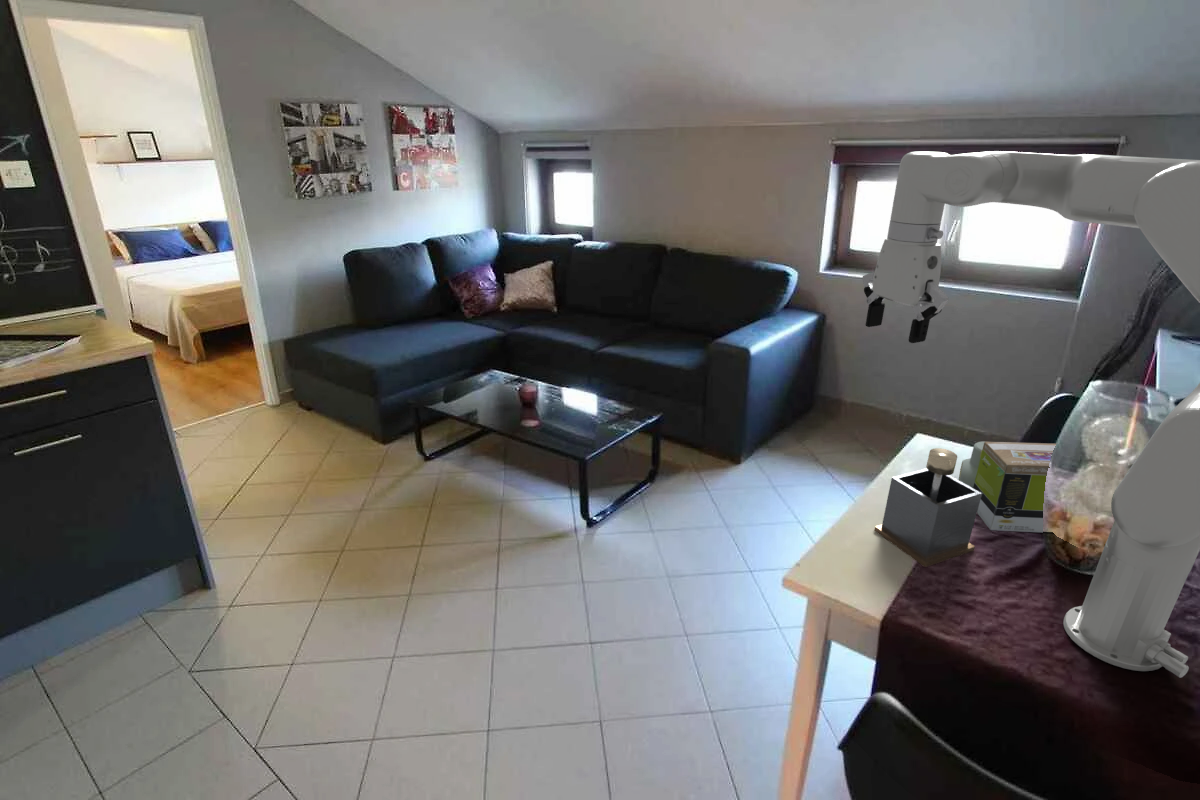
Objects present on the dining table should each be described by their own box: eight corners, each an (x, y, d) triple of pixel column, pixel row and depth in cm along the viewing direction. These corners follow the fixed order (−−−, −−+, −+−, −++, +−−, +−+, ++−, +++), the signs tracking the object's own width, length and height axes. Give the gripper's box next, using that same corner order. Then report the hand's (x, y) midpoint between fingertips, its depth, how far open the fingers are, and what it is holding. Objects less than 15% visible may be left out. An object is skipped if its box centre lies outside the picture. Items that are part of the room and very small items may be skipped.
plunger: (958, 541, 119) (979, 459, 113) (925, 551, 117) (945, 468, 110) (922, 518, 126) (941, 440, 119) (891, 527, 123) (908, 448, 117)
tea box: (1044, 507, 132) (1065, 442, 126) (1072, 536, 123) (1096, 468, 117) (967, 503, 134) (984, 439, 128) (988, 531, 125) (1008, 464, 119)
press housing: (973, 550, 119) (989, 494, 114) (925, 567, 115) (939, 509, 110) (920, 516, 129) (933, 463, 124) (874, 530, 125) (885, 476, 120)
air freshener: (1001, 506, 133) (1013, 463, 129) (956, 495, 136) (966, 453, 132) (1001, 482, 141) (1013, 441, 137) (958, 473, 145) (968, 432, 141)
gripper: (976, 239, 100) (952, 345, 107) (889, 224, 115) (873, 318, 122) (940, 243, 97) (918, 351, 104) (856, 226, 112) (841, 322, 119)
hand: (894, 333), depth 113 cm, fingers open, 9 cm apart
